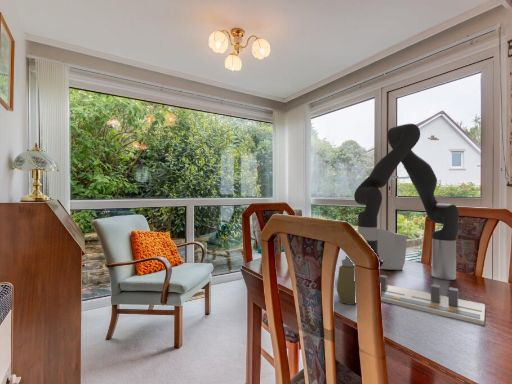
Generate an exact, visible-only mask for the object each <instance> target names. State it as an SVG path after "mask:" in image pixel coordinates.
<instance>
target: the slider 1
mask: <svg viewBox="0 0 512 384" xmlns="http://www.w3.org/2000/svg"><path fill="white" fill-rule="evenodd" d="M379 276H380V283H381V290H382V291H386V290H387V289H388V285H389V284H388V283H389V282H388V279H389V276H388V275H384V274H380V275H379Z"/></svg>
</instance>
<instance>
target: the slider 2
mask: <svg viewBox="0 0 512 384" xmlns="http://www.w3.org/2000/svg"><path fill="white" fill-rule="evenodd" d="M448 297H449V303H448V305H452V306H458V299H459V288H455V287H452V286H451V287H450V286H449V288H448Z"/></svg>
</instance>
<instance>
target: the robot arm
mask: <svg viewBox="0 0 512 384" xmlns="http://www.w3.org/2000/svg"><path fill="white" fill-rule="evenodd" d="M386 137H387V141H388V143H389V146H390V147H391V150H390V151H389V152H388V153H387V154H385V156H383V157H382V158H381V159H380V160H379V161H378V162H377V163H376V165H374V168H373V169H372V171H370V174H369V175H368V177H367V178H365V179H364V180H363V181H362V182H361V183H360V184H359V185H358V187H356V190H355V191H354V194H353V197H354V201H355V203H356V204H358V205H362V206H365V208H364V210H362V211H359V212H358V214H357V229H356V232H357V231H358V232H359V233H360V234H361V235H362V236H363V237H364V239H365V240H366V241H367V242H368V244H369V245H370V246H371V248H372V249H373V250H374V252H375V253H376V254H377V256H378V258H379V255H378V231H377V229H378V216H379V212H380V208H381V206H382V205H381V204H382V201H383V196H382V192H381V190H380V188H383V187H385V186H386V185H387V184H388V181H389V180H390V178H391V176H392V174H394V172H395V170H396V168H397V167H398V166H399V165H400V163H401V164H402V166H403V167H404V169H405V171H406V173H407V175H408V178H409V179H410V181H411V183H412V185H413V186H414V188H415V190H416V192H417V194H418V196H419V199H420V200H421V202H422V205H423V208H424V210H425V213H426V216H427V217H428V220H429V221H430V222H432V223H435V224H440V225H442V228H441V229H440V230H439V229H438V230H436V231H432V233H431V277H433V278H436V279H440V280H446V281H455V280H456V279H457V236H458V232H459V231H458V229H459V219H460V218H459V217H460V215H459V214H460V212H459V208H458V207H457V206H456V205H455V204H453V203H439V202H438V200H437V199H436V196H435V190H436V187H437V184H438V183H437V182H438V179H437V176H436V173H435V171H434V170H433V168H432V166H431V165H430V164H429V163H428V162H427V161H426V160H424V159H423V158H422V157H420V156H419V155H417V154H416V153H415V152H414V151H413V148H414V147H415V145H417V144H418V142H419V140H420V138H421V130H420V128H419V126H418V125H417V124H415V123H405V124H400V125H396V126H393V127H391V128H389V129H388V132H387V135H386ZM379 262H380V267H381V266H382V265H383V264H384V263H385V261H384V260H381V259H380V258H379Z"/></svg>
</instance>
